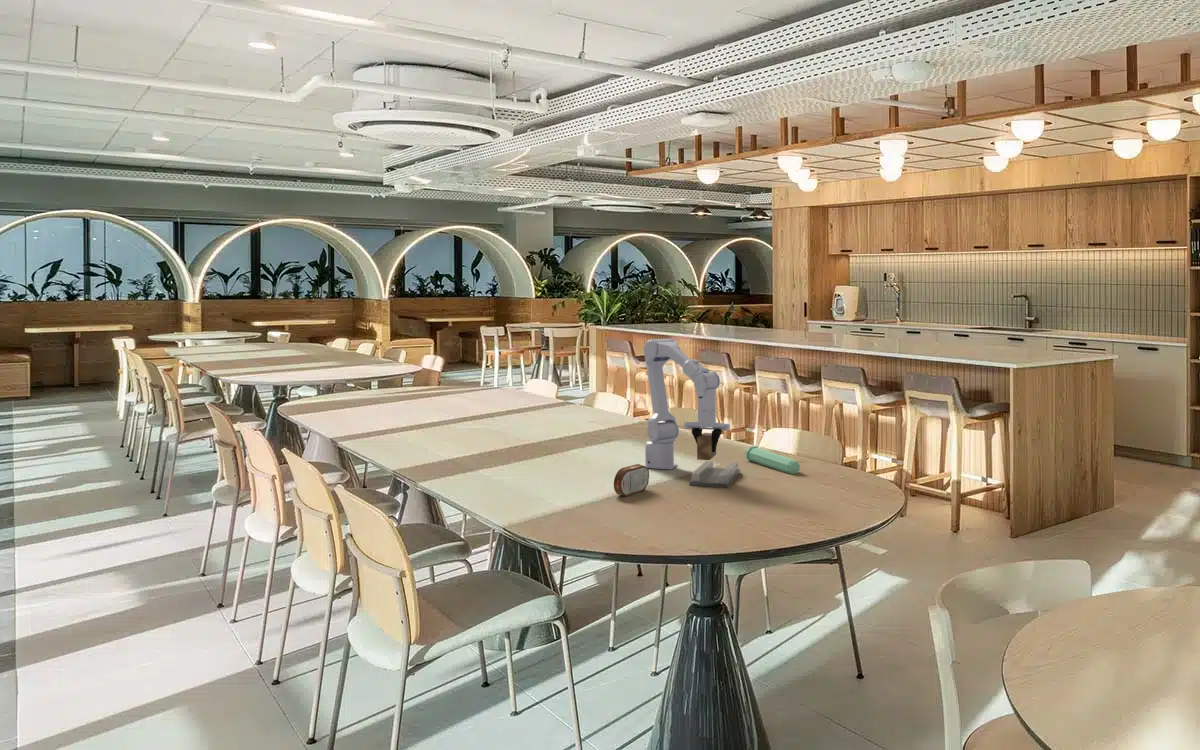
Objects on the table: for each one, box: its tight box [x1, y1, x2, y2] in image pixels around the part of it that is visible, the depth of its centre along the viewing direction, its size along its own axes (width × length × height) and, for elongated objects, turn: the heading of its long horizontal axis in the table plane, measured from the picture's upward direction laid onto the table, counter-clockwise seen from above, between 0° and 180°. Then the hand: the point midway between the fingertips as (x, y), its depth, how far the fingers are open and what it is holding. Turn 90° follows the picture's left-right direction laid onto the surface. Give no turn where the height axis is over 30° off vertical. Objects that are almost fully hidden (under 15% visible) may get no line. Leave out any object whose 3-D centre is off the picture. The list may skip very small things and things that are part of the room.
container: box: [745, 445, 801, 475], centre depth 305 cm, size 6×6×25 cm
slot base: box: [688, 460, 741, 488], centre depth 288 cm, size 12×22×4 cm, turn 161°
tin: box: [613, 463, 650, 497], centre depth 270 cm, size 15×3×8 cm, turn 141°
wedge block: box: [696, 432, 717, 461], centre depth 288 cm, size 4×10×7 cm, turn 160°
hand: (706, 451), depth 288 cm, fingers closed on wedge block, 4 cm apart
